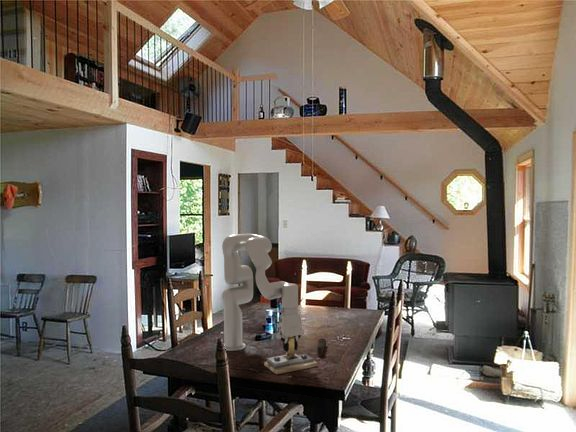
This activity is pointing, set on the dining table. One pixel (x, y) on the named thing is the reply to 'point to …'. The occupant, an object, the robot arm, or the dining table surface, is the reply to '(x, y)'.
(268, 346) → the dining table surface
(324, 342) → the hand tool
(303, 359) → the grey slotted fixture board
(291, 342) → the brass pin
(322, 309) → the dining table surface
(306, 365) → the birch board
